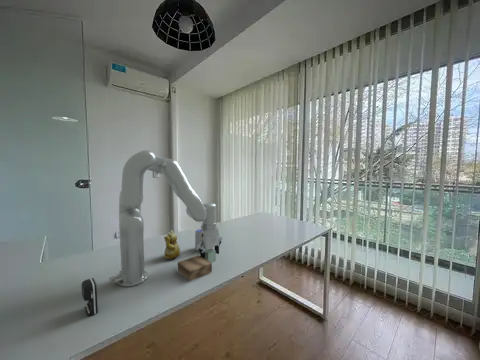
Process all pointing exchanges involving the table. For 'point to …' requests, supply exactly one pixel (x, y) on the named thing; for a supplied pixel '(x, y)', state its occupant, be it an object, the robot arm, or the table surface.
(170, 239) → the decorative figurine
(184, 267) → the walnut block
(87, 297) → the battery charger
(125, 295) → the table surface
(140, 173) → the robot arm
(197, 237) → the ink cartridge box
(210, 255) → the sage block
